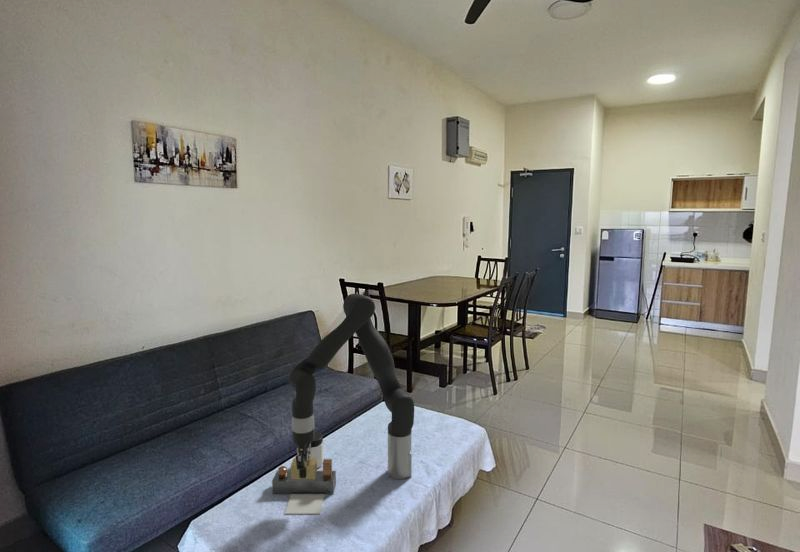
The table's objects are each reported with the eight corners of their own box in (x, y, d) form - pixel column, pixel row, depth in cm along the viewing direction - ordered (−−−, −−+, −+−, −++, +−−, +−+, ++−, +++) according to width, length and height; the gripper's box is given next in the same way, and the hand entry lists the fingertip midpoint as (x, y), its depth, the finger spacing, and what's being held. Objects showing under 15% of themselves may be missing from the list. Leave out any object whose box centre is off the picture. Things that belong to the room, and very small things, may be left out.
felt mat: (324, 495, 160) (324, 494, 160) (320, 514, 150) (320, 513, 150) (291, 495, 160) (291, 494, 160) (284, 514, 150) (284, 513, 150)
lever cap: (317, 471, 155) (316, 458, 155) (314, 479, 151) (314, 465, 150) (294, 471, 155) (293, 458, 155) (291, 479, 151) (290, 465, 150)
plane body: (335, 483, 167) (335, 456, 165) (333, 494, 161) (332, 466, 159) (277, 483, 167) (276, 456, 165) (272, 494, 160) (271, 465, 159)
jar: (306, 472, 174) (305, 444, 172) (298, 462, 180) (297, 435, 179) (327, 465, 179) (326, 437, 177) (319, 456, 185) (318, 429, 183)
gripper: (310, 437, 144) (311, 486, 146) (318, 417, 158) (318, 461, 160) (286, 437, 143) (288, 486, 146) (296, 417, 158) (298, 461, 160)
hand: (304, 473), depth 153 cm, fingers closed on lever cap, 4 cm apart
